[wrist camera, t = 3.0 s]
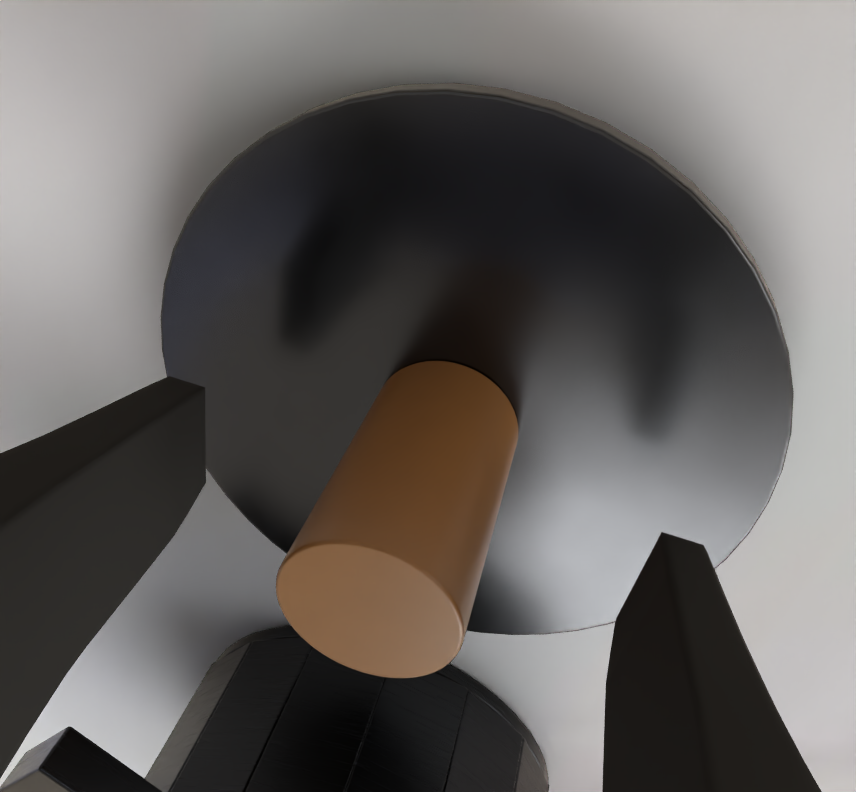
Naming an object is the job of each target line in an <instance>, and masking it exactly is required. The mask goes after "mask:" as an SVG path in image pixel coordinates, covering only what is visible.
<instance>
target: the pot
mask: <svg viewBox="0 0 856 792" xmlns="http://www.w3.org/2000/svg"><path fill="white" fill-rule="evenodd" d="M548 790H549V784H548V773H547V768H546V763H545V760H544V758H543V756H542V753H541V751H540V748H539V746H538V744H537V743H536V741H535V740H534V738H533V736H532V735H531V733H530V731H529V730H528V729H527V728H526V726H525V725H524V724H523V723H522V722H521V720H520V719H519V718H518V717H517V715H516V714H515V713H514V712H513V711H512V710H511V709H510V708H508V707H507V706H506V705H505V704H504V703H503V702H502V701H501V700H500V699H499V698H498V697H497V696H495V695H494V694H493V693H491V692H490V691H489V690H488V689H486V688H485V687H484V686H483V685H481V684H480V683H478V682H477V681H475V680H474V679H472V678H471V677H469V676H468V675H466V674H465V673H463V672H462V671H460V670H458V669H456V668H455V667H453V666H451V665H449V664H447V665H446V666H445V667H443V668H442V669H440V670H438V671H436V672H433V673H431V674H428V675H424V676H419V677H412V678H390V677H381V676H376V675H371V674H367V673H364V672H360V671H357V670H355V669H352V668H349V667H347V666H345V665H342V664H340V663H338V662H336V661H334V660H332V659H330V658H329V657H327V656H325V655H324V654H322V653H321V652H319V651H318V650H316V649H315V648H314V647H312V646H311V645H310V644H309V643H307V642H306V641H305V640H304V639H303V638H302V637H301V636H300V635H299V634H298V633H297V632H296V631H295V630H294V629H293V627H292V626H285V627H278V628H271V629H267V630H264V631H260V632H257V633H253V634H251V635H249V636H247V637H245V638H242V639H240V640H239V641H237V642H236V643H234V644H233V645H232V646H230V647H229V648H227V649H226V650H225V651H224V653H223V654H222V655H221V656H220V657H219V658H218V660H217V661H216V662H214V663H213V664H212V665H211V667H210V668H209V670H208V672H207V673H206V675H205V677H204V679H203V680H202V682H201V684H200V685H199V687H198V689H197V690H196V692H195V694H194V696H193V697H192V699H191V701H190V702H189V704H188V706H187V707H186V709H185V711H184V713H183V714H182V716H181V718H180V719H179V721H178V723H177V724H176V726H175V728H174V730H173V731H172V733H171V735H170V736H169V738H168V740H167V742H166V743H165V745H164V747H163V748H162V750H161V752H160V753H159V755H158V757H157V759H156V760H155V762H154V764H153V765H152V767H151V769H150V770H149V772H148V774H147V776H146V777H145V779H144V778H142V777H141V776H140V775H138V774H137V773H135V772H134V771H133V770H131V769H130V768H128V767H127V766H126V765H124V764H123V763H121V762H120V761H119V760H117V759H116V758H114V757H113V756H111V755H110V754H109V753H107V752H106V751H104V750H103V749H102V748H100V747H99V746H97V745H96V744H95V743H93V742H92V741H90V740H89V739H88V738H86V737H85V736H83V735H82V734H81V733H79V732H78V731H76V730H75V729H73V728H72V727H67V728H66V729H64V730H62V731H61V732H59V733H57V734H56V735H54V736H52V737H51V738H49V739H47V740H46V741H44V742H42V743H41V744H39V745H37V746H36V747H34V748H32V749H31V750H29V751H27V752H26V753H25V754H24V756H23V757H22V758H21V760H20V761H19V762H18V764H17V765H16V767H15V768H14V769H13V771H12V772H11V773H10V775H9V776H8V777H7V779H6V780H5V781H4V783H3V784H2V785H1V787H0V792H548Z"/></svg>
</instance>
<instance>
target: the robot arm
mask: <svg viewBox="0 0 856 792" xmlns="http://www.w3.org/2000/svg"><path fill="white" fill-rule="evenodd" d="M205 483H206V435H205V387H202V386H199V385H196V384H193V383H190V382H186V381H183V380H180V379H177V378H174V377H171V376H169V377H167V378H164V379H162V380H160V381H157V382H155V383H153V384H151V385H149V386H147V387H145V388H142V389H140V390H138V391H136V392H134V393H132V394H130V395H128V396H126V397H124V398H122V399H120V400H117V401H115V402H113V403H111V404H109V405H107V406H105V407H103V408H101V409H99V410H97V411H95V412H93V413H90V414H88V415H86V416H84V417H82V418H80V419H77V420H75V421H73V422H71V423H69V424H67V425H65V426H62V427H60V428H58V429H56V430H54V431H52V432H50V433H47V434H45V435H43V436H41V437H39V438H36V439H34V440H31V441H29V442H27V443H24V444H22V445H19V446H17V447H15V448H12V449H10V450H8V451H5V452H3V453H0V778H1V776H2V775H3V773H4V772H5V770H6V768H7V767H8V765H9V763H10V762H11V760H12V759H13V757H14V755H15V754H16V752H17V750H18V749H19V747H20V746H21V744H22V742H23V741H24V739H25V737H26V736H27V734H28V732H29V731H30V729H31V728H32V726H33V725H34V723H35V722H36V720H37V718H38V717H39V715H40V714H41V712H42V711H43V709H44V708H45V706H46V705H47V703H48V701H49V700H50V698H51V697H52V695H53V694H54V692H55V691H56V689H57V688H58V686H59V684H60V683H61V681H62V680H63V678H64V677H65V675H66V674H67V672H68V671H69V670H70V668H71V667H72V665H73V664H74V663H75V661H76V660H77V659H78V657H79V656H80V655H81V653H82V652H83V650H84V649H85V648H86V646H87V645H88V644H89V643H90V641H91V640H92V639H93V638H94V636H95V635H96V634H97V633H98V631H99V630H100V629H101V628H102V626H103V625H104V624H105V623H106V621H107V620H108V619H109V618H110V616H111V615H112V614H113V613H114V611H115V610H116V609H117V607H118V606H119V605H120V604H121V602H122V601H123V600H124V599H125V597H126V596H127V595H128V594H129V592H130V591H131V590H132V589H133V587H134V586H135V585H136V584H137V582H138V581H139V580H140V579H141V577H142V576H143V575H144V574H145V572H146V571H147V570H148V568H149V567H150V566H151V565H152V563H153V562H154V561H155V560H156V558H157V557H158V556H159V554H160V553H161V552H162V551H163V549H164V548H165V547H166V545H167V544H168V543H169V542H170V540H171V539H172V538H173V536H174V535H175V533H176V532H177V530H178V528H179V527H180V525H181V524H182V522H183V520H184V519H185V517H186V516H187V514H188V512H189V511H190V509H191V507H192V505H193V504H194V502H195V500H196V499H197V497H198V495H199V493H200V492H201V490H202V488H203V486H204V485H205ZM603 792H821V790H820V788H819V787H818V785H817V783H816V781H815V780H814V778H813V776H812V774H811V773H810V771H809V769H808V767H807V765H806V764H805V762H804V760H803V758H802V756H801V754H800V753H799V751H798V749H797V747H796V745H795V743H794V741H793V739H792V738H791V736H790V734H789V732H788V730H787V728H786V726H785V724H784V723H783V721H782V719H781V717H780V715H779V713H778V711H777V709H776V707H775V705H774V703H773V701H772V699H771V697H770V695H769V692H768V690H767V688H766V686H765V684H764V682H763V680H762V678H761V675H760V673H759V671H758V669H757V667H756V665H755V663H754V661H753V658H752V656H751V654H750V652H749V650H748V648H747V645H746V643H745V641H744V639H743V636H742V634H741V632H740V630H739V627H738V625H737V623H736V620H735V618H734V616H733V613H732V611H731V608H730V606H729V604H728V601H727V599H726V596H725V594H724V592H723V589H722V587H721V584H720V582H719V579H718V577H717V574H716V572H715V569H714V567H713V564H712V562H711V560H710V557H709V555H708V552H707V550H706V549H705V547H704V545H702V544H699V543H696V542H693V541H689V540H686V539H683V538H680V537H677V536H674V535H670V534H667V533H664V532H661V534H660V536H659V538H658V540H657V542H656V544H655V546H654V548H653V549H652V551H651V553H650V555H649V557H648V559H647V561H646V563H645V565H644V566H643V568H642V570H641V572H640V574H639V576H638V578H637V580H636V582H635V583H634V585H633V587H632V589H631V591H630V593H629V595H628V597H627V599H626V600H625V602H624V604H623V606H622V608H621V610H620V612H619V614H618V616H617V618H616V622H615V628H614V634H613V640H612V646H611V652H610V659H609V666H608V673H607V680H606V699H605V729H604V763H603Z"/></svg>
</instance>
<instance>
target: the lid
mask: <svg viewBox="0 0 856 792" xmlns="http://www.w3.org/2000/svg"><path fill="white" fill-rule="evenodd" d="M161 333H162V351H163V357H164V362H165V368H166V373H167V377H169V376H171V377H174V378H177V379H180V380H183V381H186V382H190V383H193V384H196V385H199V386H202V387H205V435H206V468H207V470H208V471H209V473H210V474H211V476H212V477H213V478H214V480H215V481H216V482H217V484H218V485H219V486H220V488H221V489H222V491H223V492H224V493H225V495H226V496H227V497H228V498H229V499H230V500H231V502H232V503H233V504H234V505H235V506H236V507H237V508H238V509H239V510H240V512H241V513H242V514H243V515H244V516H245V517H246V518H247V519H248V520H249V521H250V522H251V523H252V524H253V525H254V526H255V527H256V528H257V529H258V530H259V531H260V532H261V533H262V534H264V535H265V536H266V537H267V538H268V539H269V540H270V541H271V542H272V543H274V544H275V545H276V546H277V547H279V548H280V549H281V550H283V551H284V552H285V553H286V554H287V555H286V557H285V558H284V560H283V562H282V564H281V566H280V567H279V570H278V573H277V578H276V594H277V598H278V602H279V605H280V607H281V610H282V612H283V614H284V615H285V617H286V619H287V621H288V622H289V623H290V625H291V626H292V627H293V629H294V630H295V631H296V632H297V633H298V634H299V635H300V636H301V637H302V638H303V639H304V640H305V641H306V642H307V643H309V644H310V645H311V646H312V647H314V648H315V649H316V650H318V651H319V652H321V653H322V654H324V655H325V656H327V657H329V658H330V659H332V660H334V661H336V662H338V663H340V664H342V665H345V666H347V667H349V668H352V669H355V670H357V671H360V672H364V673H367V674H371V675H376V676H381V677H390V678H412V677H419V676H424V675H428V674H431V673H433V672H436V671H438V670H440V669H442V668H443V667H445V666H446V665H447V664H449V663H450V662H451V661H452V660H453V659H454V657H455V656H456V655H457V654H458V652H459V650H460V649H461V646H462V644H463V641H464V637H465V633H466V630H468V631H474V632H481V633H494V634H508V635H529V634H551V633H560V632H569V631H578V630H582V629H587V628H592V627H596V626H601V625H606V624H610V623H613V622H616V618H617V616H618V614H619V612H620V610H621V608H622V606H623V604H624V602H625V600H626V599H627V597H628V595H629V593H630V591H631V589H632V587H633V585H634V583H635V582H636V580H637V578H638V576H639V574H640V572H641V570H642V568H643V566H644V565H645V563H646V561H647V559H648V557H649V555H650V553H651V551H652V549H653V548H654V546H655V544H656V542H657V540H658V538H659V536H660V534H661V532H664V533H667V534H670V535H674V536H677V537H680V538H683V539H686V540H689V541H693V542H696V543H699V544H702V545H704V547H705V549H706V550H707V552H708V555H709V557H710V560H711V562H712V564H713V567H714V569H715V568H716V567H717V566H719V565H720V564H721V563H722V562H723V561H725V560H726V559H727V558H728V556H729V555H730V554H731V553H732V552H733V551H734V550H735V549H736V547H737V546H738V545H739V544H740V543H741V542H742V541H743V540H744V538H745V537H746V536H747V535H748V534H749V532H750V531H751V529H752V528H753V526H754V525H755V523H756V521H757V520H758V518H759V517H760V515H761V514H762V512H763V511H764V509H765V507H766V506H767V504H768V502H769V500H770V498H771V495H772V493H773V491H774V488H775V486H776V484H777V481H778V479H779V477H780V474H781V472H782V470H783V466H784V461H785V457H786V453H787V449H788V444H789V440H790V436H791V428H792V411H793V385H792V377H791V368H790V359H789V352H788V348H787V344H786V340H785V337H784V333H783V330H782V327H781V323H780V320H779V316H778V313H777V309H776V306H775V303H774V299H773V297H772V295H771V293H770V291H769V289H768V287H767V284H766V282H765V280H764V278H763V276H762V274H761V272H760V270H759V268H758V266H757V264H756V261H755V259H754V257H753V256H752V255H751V253H750V252H749V250H748V249H747V247H746V246H745V244H744V243H743V241H742V240H741V239H740V237H739V236H738V234H737V233H736V231H735V230H734V228H733V227H732V225H731V224H730V223H729V221H728V220H727V218H726V217H725V216H724V215H723V214H722V213H721V212H720V211H719V210H718V209H717V208H716V206H715V205H714V204H713V203H712V202H711V201H710V200H709V199H708V198H707V197H706V196H705V195H704V194H703V193H702V192H701V190H700V189H699V188H698V187H697V186H696V185H695V184H694V183H693V182H692V181H691V180H690V179H688V178H687V177H686V176H685V175H683V174H682V173H681V172H680V171H678V170H677V169H676V168H675V167H673V166H672V165H671V164H669V163H668V162H667V161H666V160H664V159H663V158H662V157H661V156H659V155H658V154H657V153H656V152H654V151H653V150H652V149H650V148H649V147H647V146H645V145H644V144H642V143H640V142H638V141H637V140H635V139H633V138H632V137H630V136H628V135H627V134H625V133H623V132H621V131H620V130H618V129H616V128H615V127H613V126H611V125H610V124H608V123H606V122H604V121H601V120H599V119H597V118H594V117H592V116H589V115H587V114H584V113H582V112H580V111H577V110H575V109H572V108H570V107H568V106H565V105H563V104H560V103H558V102H555V101H551V100H547V99H543V98H539V97H535V96H532V95H528V94H524V93H520V92H516V91H512V90H508V89H503V88H495V87H486V86H477V85H468V84H460V83H433V84H404V85H398V86H392V87H387V88H381V89H375V90H370V91H364V92H358V93H355V94H352V95H349V96H346V97H343V98H340V99H338V100H335V101H332V102H329V103H326V104H323V105H320V106H317V107H314V108H313V109H311V110H309V111H307V112H305V113H303V114H301V115H299V116H297V117H295V118H294V119H292V120H290V121H288V122H286V123H284V124H282V125H280V126H278V127H277V128H275V129H273V130H272V131H270V132H268V133H267V134H266V135H264V136H263V137H262V138H260V139H259V140H258V141H256V142H255V143H254V144H252V145H251V146H250V147H248V148H247V149H246V150H244V151H243V152H242V153H240V154H239V155H238V156H236V157H235V158H234V159H233V160H232V161H231V162H230V163H229V164H228V165H227V166H226V168H225V169H224V170H223V171H222V172H221V173H220V174H219V175H218V176H217V177H216V178H215V179H214V180H213V181H212V182H211V183H210V185H209V186H208V187H207V188H206V190H205V191H204V193H203V194H202V196H201V197H200V199H199V200H198V202H197V203H196V205H195V206H194V208H193V209H192V211H191V212H190V214H189V216H188V217H187V219H186V222H185V224H184V226H183V228H182V231H181V233H180V235H179V237H178V240H177V242H176V244H175V246H174V249H173V252H172V256H171V260H170V263H169V267H168V271H167V275H166V279H165V282H164V291H163V300H162V310H161Z"/></svg>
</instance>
